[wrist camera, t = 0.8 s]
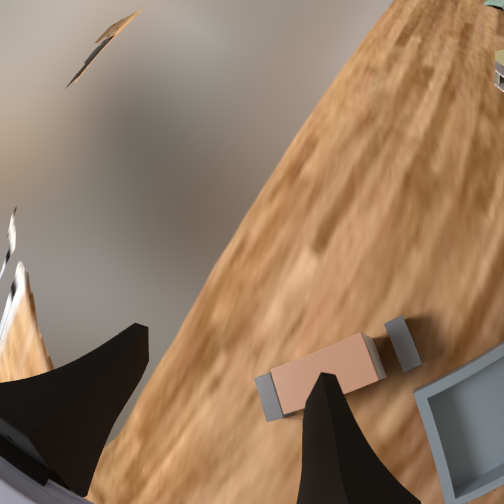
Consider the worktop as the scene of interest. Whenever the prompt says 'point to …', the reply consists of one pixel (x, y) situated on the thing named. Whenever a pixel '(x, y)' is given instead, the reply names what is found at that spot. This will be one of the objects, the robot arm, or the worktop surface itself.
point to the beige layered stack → (499, 69)
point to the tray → (467, 426)
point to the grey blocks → (400, 343)
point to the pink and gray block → (328, 370)
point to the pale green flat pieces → (495, 4)
